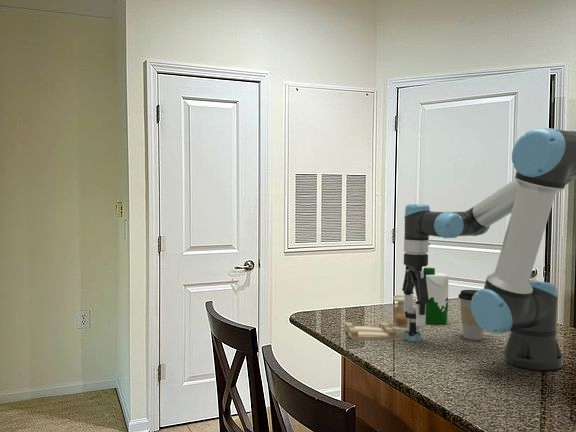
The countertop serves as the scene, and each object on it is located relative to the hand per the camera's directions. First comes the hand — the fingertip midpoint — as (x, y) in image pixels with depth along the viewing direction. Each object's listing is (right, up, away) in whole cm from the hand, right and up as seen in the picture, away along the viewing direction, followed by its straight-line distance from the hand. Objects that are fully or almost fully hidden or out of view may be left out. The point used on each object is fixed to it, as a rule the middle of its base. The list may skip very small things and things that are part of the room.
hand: (414, 319), depth 175 cm
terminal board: (-13, -6, +7) cm, 16 cm away
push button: (0, -7, 0) cm, 7 cm away
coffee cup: (+20, -7, +4) cm, 22 cm away
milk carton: (+13, -6, +24) cm, 28 cm away
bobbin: (0, -6, +16) cm, 17 cm away
